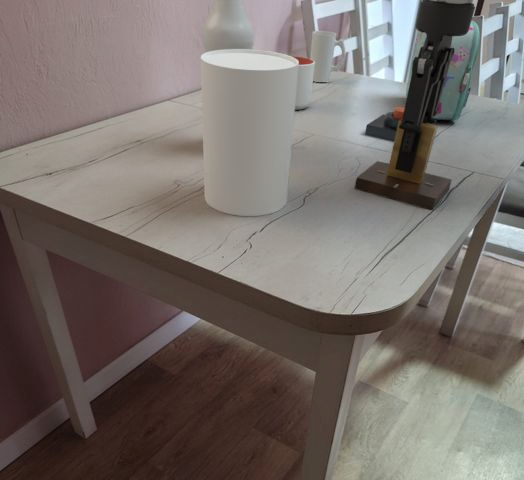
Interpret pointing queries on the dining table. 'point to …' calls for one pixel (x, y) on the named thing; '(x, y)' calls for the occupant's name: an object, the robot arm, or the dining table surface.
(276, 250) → the dining table surface
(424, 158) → the block
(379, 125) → the push button base
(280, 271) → the dining table surface
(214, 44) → the white bottle
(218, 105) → the canister
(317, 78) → the mug
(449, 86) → the lunch box
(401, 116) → the bell button
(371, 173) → the plate
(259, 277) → the dining table surface
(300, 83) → the cup
